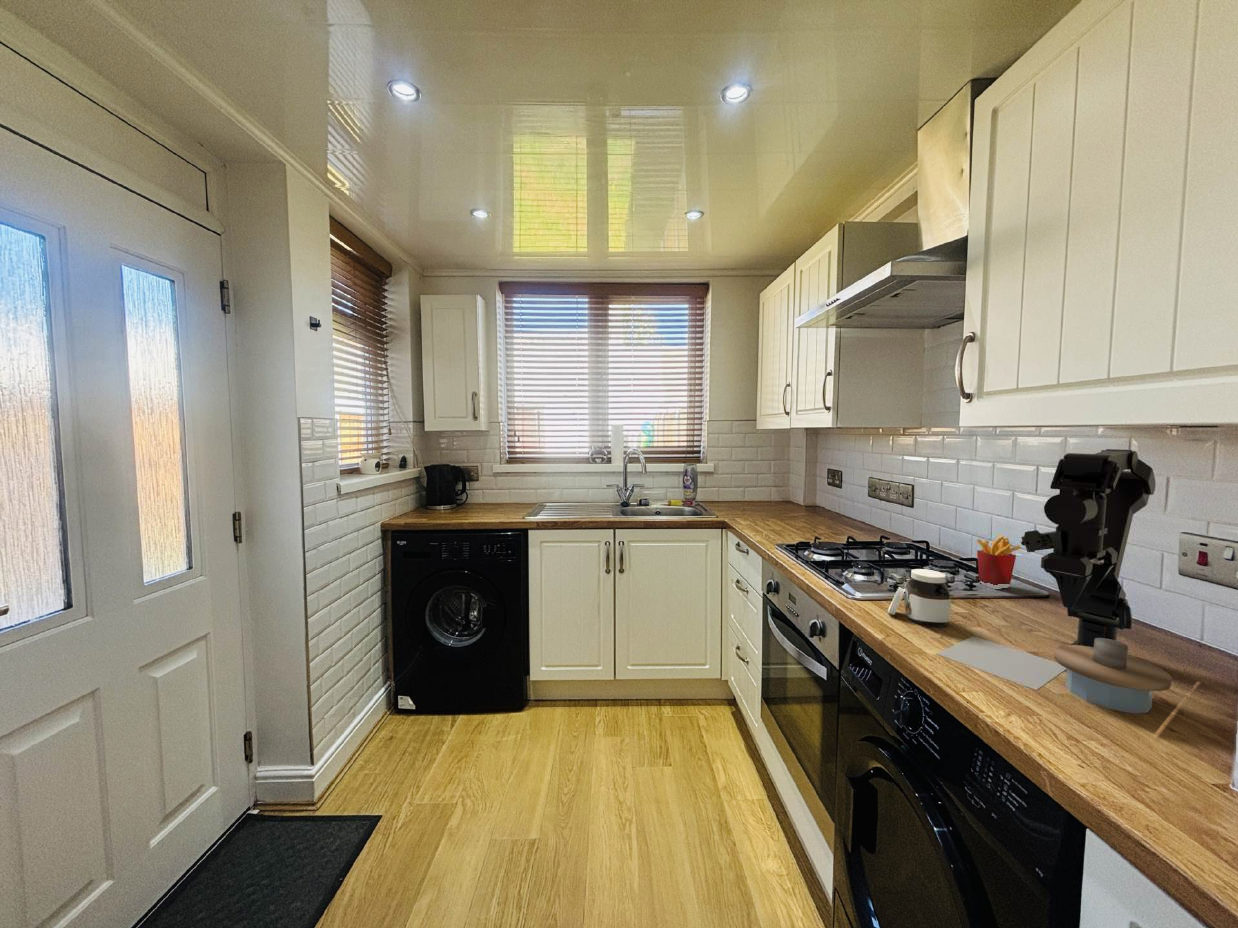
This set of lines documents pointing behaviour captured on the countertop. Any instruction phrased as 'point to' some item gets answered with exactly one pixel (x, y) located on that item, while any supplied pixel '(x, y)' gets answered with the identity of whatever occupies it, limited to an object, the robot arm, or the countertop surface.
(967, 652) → the mat
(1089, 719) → the countertop surface
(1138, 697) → the bowl
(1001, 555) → the french fries
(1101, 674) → the lid
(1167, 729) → the countertop surface
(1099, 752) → the countertop surface
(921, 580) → the spread jar
